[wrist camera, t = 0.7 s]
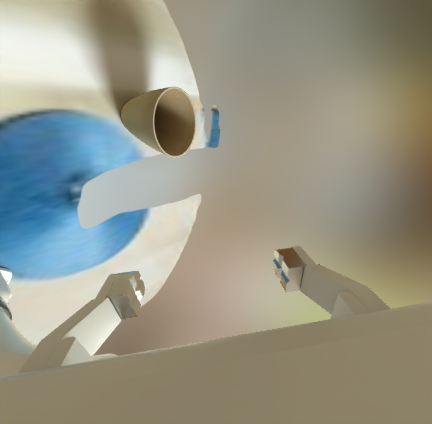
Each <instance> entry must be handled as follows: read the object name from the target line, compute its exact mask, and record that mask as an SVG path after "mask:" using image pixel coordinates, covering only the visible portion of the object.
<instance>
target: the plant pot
mask: <svg viewBox="0 0 432 424" xmlns="http://www.w3.org/2000/svg"><path fill="white" fill-rule="evenodd" d="M121 119H122V122H123V124H124V126H125V127H126V128H127V129H128V130H129V131H130V132H131V133H132V134H133V135H134V136H136V137H137V138H138V139H140V140H141V141H142V142H144V143H145V144H147V145H148V146H150V147H152V148H153V149H155V150H157V151H159V152H161V153H163V154H166V155H168V156H170V157H180V156H182V155H184V153H186V152H187V151H188V150H189V148H190V146H191V144H192V142H193V140H194V136H195V131H196V116H195V110H194V106H193V104H192V101H191V99H190V98H189V96H188V95H187V93H186V92H185V91H183V90H182V89H180V88H178V87H169V88H163V89H158V90H154V91H150V92H147V93H144V94H141V95H139V96H137V97H135V98H133V99H131V100H130V101H128V102H127V103H126V104H124V106H123V107H122V110H121Z"/></svg>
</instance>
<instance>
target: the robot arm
mask: <svg viewBox="0 0 432 424" xmlns="http://www.w3.org/2000/svg"><path fill="white" fill-rule="evenodd" d="M274 256H275V259H274V261H273V267H274V271H275V273H276V275H277V277H279V278H280V279H281V281H280V283H281V285H282V287H283V288H284V290H285V292H290V291H298V290H300V291H301V292H302V293H304V294H305V295H306V296H308V297H309V298H310V299H312V300H313V301H314V302H316V303H317V304H318V305H320V306H321V307H322V308H324V309H325V310H326V311H328V312H329V313H330V314H332V316H331V319H330V320H324V321H318V322H312V323H307V324H301V325H295V326H290V327H284V328H278V329H272V330H266V331H261V332H255V333H249V334H243V335H238V336H232V337H226V338H220V339H215V340H209V341H203V342H197V343H192V344H186V345H180V346H175V347H168V348H163V349H157V350H151V351H145V352H140V353H134V354H128V355H123V356H118V355H115V354H104V355H97V356H93V354H94V353H95V352H96V351H97V350H98V348H99V347H100V346H101V345H102V344H103V342H104V341H105V340H106V339H107V337H108V336H109V335H110V334H111V332H112V331H113V330H114V329H115V327H116V326H117V325H118V324H119V323H120V321H121V319H126V318H132V317H136V316H138V312H139V309H140V306H141V304H140V302H139V301H140V300H141V299H142V298H143V296H144V291H145V287H144V283H143V281H142V280H140V279H139V278H140V276H141V275H140V273H139V271H132V272H124V273H118V274H111V275H109V276H108V278H107V280H106V281H105V283H104V285H103V286H102V288H101V290H100V292H99V293H98V295H97V297H96V298H95V299H94V300H91V301H90V302H89V303H87V304H86V305H85V306H84V307H82V308H81V309H80V310H79V311H77V312H76V313H75V314H74V315H72V316H71V317H70V318H69V319H67V320H66V321H65V322H64V323H62V324H61V325H60V326H59V327H57V328H56V329H55V330H54V331H53V332H51V333H50V334H49V335H48V336H46V337H45V338H44V339H43V340H41V341H40V343H39V344H38V345H37V346H36V345H34V344H32V343H31V342H29V341H28V340H27V339H26V338H25V337H24V336H23V335H22V334H21V333H20V331H19V330H18V329H17V328H16V326H15V325H14V324H13V322H12V315H11V312H10V308H9V306H8V305H9V302H8V301H9V298H10V297H12V293H11V290H10V288H9V286H8V284H9V282H10V280H11V278H12V272H11V271H10V270H8V269H5V268H1V267H0V424H432V302H427V303H422V304H416V305H410V306H404V307H399V308H393V309H391V308H390V307H389V306H387V305H386V304H385V303H384V302H383V301H382V300H381V299H380V298H379V297H378V296H377V295H376V294H375V293H374V292H373V291H372V290H370V289H369V288H368V287H367V286H365V285H363V284H360V283H358V282H356V281H354V280H352V279H350V278H348V277H345V276H343V275H341V274H339V273H337V272H335V271H332V270H330V269H328V268H326V267H324V266H322V265H320V264H318V265H316V264H315V262H314V261H313V260H312V259H311V258H310V257H309V256H308V254H307V253H306V252H305V251H304V250H303V249H302V248H301V247H300V246H296V247H291V248H285V249H278V250H275V251H274Z"/></svg>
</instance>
